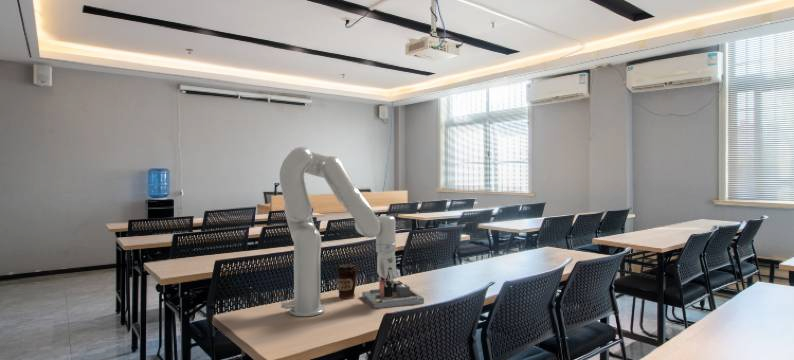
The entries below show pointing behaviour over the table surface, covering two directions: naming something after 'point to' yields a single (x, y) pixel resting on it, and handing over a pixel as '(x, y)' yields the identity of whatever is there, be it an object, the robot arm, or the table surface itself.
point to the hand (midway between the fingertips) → (385, 294)
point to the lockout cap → (382, 288)
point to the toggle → (402, 291)
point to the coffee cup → (346, 280)
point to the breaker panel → (391, 298)
